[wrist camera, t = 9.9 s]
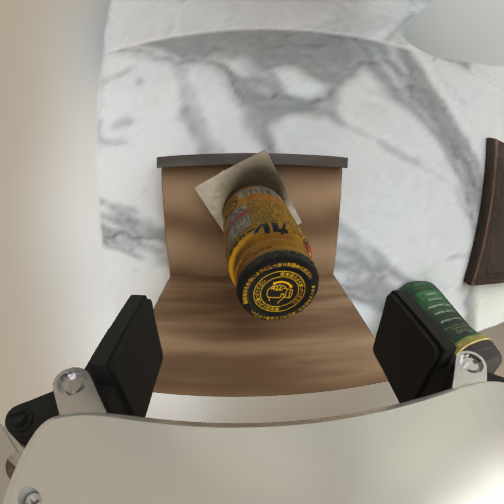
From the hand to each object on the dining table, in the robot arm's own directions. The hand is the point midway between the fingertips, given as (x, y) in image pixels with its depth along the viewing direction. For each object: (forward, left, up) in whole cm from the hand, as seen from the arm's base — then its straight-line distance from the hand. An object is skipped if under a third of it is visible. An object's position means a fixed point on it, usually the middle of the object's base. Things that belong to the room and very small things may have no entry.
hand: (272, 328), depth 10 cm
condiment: (-1, 0, -18) cm, 18 cm away
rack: (+1, 0, -21) cm, 21 cm away
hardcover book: (-1, +42, -22) cm, 48 cm away
